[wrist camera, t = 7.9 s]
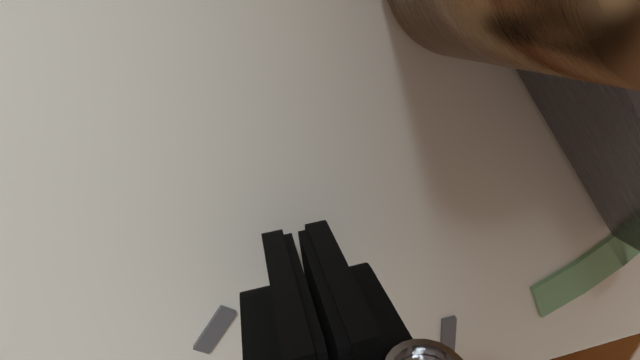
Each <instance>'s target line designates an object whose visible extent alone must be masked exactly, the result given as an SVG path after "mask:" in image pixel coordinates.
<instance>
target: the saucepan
mask: <svg viewBox="0 0 640 360" xmlns="http://www.w3.org/2000/svg"><path fill="white" fill-rule="evenodd" d="M387 2H388V4H389V6H390V9H391V11H392V13H393V15H394V17H395V18H396V20H397V22H398V23H399V25H400V26H401V28H402V29H403V30H404V31H405V32H406V34H407V35H408V36H409V37H410V38H412V39H413V40H414V41H415V42H416V43H417V44H419V45H420V46H422V47H423V48H425V49H427V50H429V51H431V52H434V53H436V54H440V55H443V56H448V57H453V58H459V59H464V60H470V61H475V62H481V63H487V64H492V65H498V66H503V67H509V68H514V69H516V71H517V73H518V74H519V76H520V78H521V80H522V81H523V83H524V85H525V86H526V88H527V90H528V91H529V93H530V95H531V97H532V98H533V100H534V102H535V103H536V105H537V107H538V109H539V110H540V112H541V114H542V115H543V117H544V119H545V121H546V122H547V124H548V126H549V127H550V129H551V131H552V133H553V134H554V136H555V138H556V139H557V141H558V143H559V145H560V146H561V148H562V150H563V151H564V153H565V155H566V157H567V158H568V160H569V162H570V163H571V165H572V167H573V169H574V170H575V172H576V174H577V175H578V177H579V179H580V181H581V182H582V184H583V186H584V187H585V189H586V191H587V192H588V194H589V196H590V198H591V199H592V201H593V203H594V204H595V206H596V208H597V210H598V211H599V213H600V215H601V216H602V218H603V220H604V222H605V223H606V225H607V227H608V228H609V230H610V232H611V234H612V235H613V236H614V237H616V238H617V239H619V240H621V241H623V242H624V243H626V244H628V245H630V246H632V247H633V248H635V249H637V250H639V251H640V0H387Z"/></svg>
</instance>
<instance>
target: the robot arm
mask: <svg viewBox="0 0 640 360" xmlns="http://www.w3.org/2000/svg"><path fill="white" fill-rule="evenodd" d="M261 236H262V242H263V248H264V254H265V260H266V266H267V272H268V278H269V284H270V285H269V286H264V287H260V288H256V289H252V290H248V291H243V292H240V294H239V295H240V318H241V337H242V356H243V360H463V359H462V358H461V357H460V356H459V355H458V354H457V353H456V352H455V351H453V350H452V349H451V348H450V347H448V346H446V345H444V344H442V343H440V342H438V341H434V340H429V339H413V338H412V336H411V335H410V333H409V331H408V330H407V328H406V326H405V324H404V323H403V321H402V319H401V318H400V316H399V314H398V312H397V311H396V309H395V307H394V306H393V304H392V302H391V300H390V299H389V297H388V295H387V294H386V292H385V290H384V288H383V287H382V285H381V283H380V282H379V280H378V278H377V276H376V275H375V273H374V271H373V270H372V268H371V266H370V265H369V264H368V263H367V262H365V263H361V264H357V265H353V266H349V265H348V263H347V261H346V259H345V257H344V255H343V253H342V251H341V249H340V247H339V245H338V243H337V241H336V239H335V237H334V235H333V233H332V231H331V229H330V227H329V225H328V223H327V221H326V220H322V221H318V222H313V223H308V224H305V230H302V231H298V237H299V244H300V250H301V256H302V262H303V268H302V265H301V262H300V258H299V255H298V252H297V249H296V245H295V242H294V239H293V236H292V233H289V234H283V230H282V229H281V230H276V231H271V232H267V233H262V234H261ZM303 269H304V271H303Z"/></svg>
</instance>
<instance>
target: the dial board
mask: <svg viewBox="0 0 640 360" xmlns="http://www.w3.org/2000/svg"><path fill="white" fill-rule="evenodd" d="M322 220H326V221H327V223H328V225H329V227H330V229H331V231H332V233H333V235H334V237H335V239H336V241H337V243H338V245H339V247H340V249H341V251H342V253H343V255H344V257H345V259H346V261H347V263H348V265H349V266H353V265H357V264H361V263H365V262H367V263H368V264H369V265H370V266H371V268H372V270H373V271H374V273H375V275H376V276H377V278H378V280H379V282H380V283H381V285H382V287H383V288H384V290H385V292H386V294H387V295H388V297H389V299H390V300H391V302H392V304H393V306H394V307H395V309H396V311H397V312H398V314H399V316H400V318H401V319H402V321H403V323H404V324H405V326H406V328H407V330H408V331H409V333H410V335H411V336H412V338H413V339H429V340H434V341H438V342H440V343H442V344H444V345H446V346H448V347H450V348H451V349H452V350H453V351H455V352H456V353H457V354H458V355H459V356H460V357H461V358H462V359H463V360H550V359H553V358H557V357H560V356H564V355H567V354H570V353H574V352H577V351H581V350H584V349H588V348H591V347H594V346H598V345H601V344H605V343H608V342H611V341H615V340H618V339H622V338H625V337H628V336H632V335H635V334H639V333H640V251H639V250H637V249H635V248H633V247H632V246H630V245H628V244H626V243H624V242H623V241H621V240H619V239H617V238H616V237H614V236H613V235H612V234H611V232H610V230H609V228H608V227H607V225H606V223H605V222H604V220H603V218H602V216H601V215H600V213H599V211H598V210H597V208H596V206H595V204H594V203H593V201H592V199H591V198H590V196H589V194H588V192H587V191H586V189H585V187H584V186H583V184H582V182H581V181H580V179H579V177H578V175H577V174H576V172H575V170H574V169H573V167H572V165H571V163H570V162H569V160H568V158H567V157H566V155H565V153H564V151H563V150H562V148H561V146H560V145H559V143H558V141H557V139H556V138H555V136H554V134H553V133H552V131H551V129H550V127H549V126H548V124H547V122H546V121H545V119H544V117H543V115H542V114H541V112H540V110H539V109H538V107H537V105H536V103H535V102H534V100H533V98H532V97H531V95H530V93H529V91H528V90H527V88H526V86H525V85H524V83H523V81H522V80H521V78H520V76H519V74H518V73H517V71H516V69H514V68H509V67H503V66H498V65H492V64H487V63H481V62H475V61H470V60H464V59H459V58H453V57H448V56H443V55H440V54H436V53H434V52H431V51H429V50H427V49H425V48H423V47H422V46H420V45H419V44H417V43H416V42H415V41H414V40H413V39H412V38H410V37H409V36H408V35H407V34H406V32H405V31H404V30H403V29H402V28H401V26H400V25H399V23H398V22H397V20H396V18H395V17H394V15H393V13H392V11H391V9H390V6H389V4H388V2H387V0H0V360H243V356H242V337H241V318H240V295H239V294H240V292H243V291H248V290H252V289H256V288H260V287H264V286H269V285H270V284H269V278H268V272H267V266H266V260H265V254H264V248H263V242H262V236H261V234H262V233H267V232H271V231H276V230H281V229H282V230H283V234H289V233H292V236H293V239H294V242H295V245H296V249H297V252H298V255H299V258H300V262H301V265H302V268H303V262H302V256H301V250H300V244H299V237H298V231H302V230H305V224H308V223H313V222H318V221H322ZM303 271H304V269H303Z"/></svg>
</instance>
